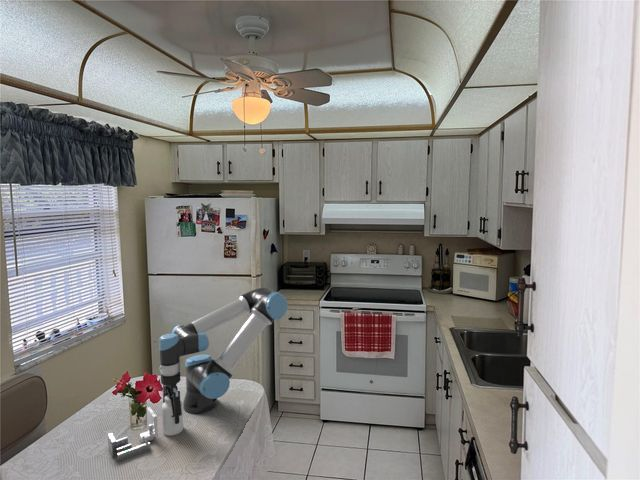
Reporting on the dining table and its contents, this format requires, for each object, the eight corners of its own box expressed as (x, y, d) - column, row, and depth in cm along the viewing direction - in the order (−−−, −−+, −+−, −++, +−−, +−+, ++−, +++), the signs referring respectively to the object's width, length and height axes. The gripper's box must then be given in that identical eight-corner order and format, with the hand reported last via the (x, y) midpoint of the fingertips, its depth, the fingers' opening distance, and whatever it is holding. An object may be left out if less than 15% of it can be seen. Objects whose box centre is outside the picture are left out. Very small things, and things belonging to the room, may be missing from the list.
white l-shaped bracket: (151, 431, 169) (149, 406, 167) (160, 445, 159) (159, 419, 158) (137, 435, 165) (136, 411, 164) (146, 450, 156) (145, 424, 155)
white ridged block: (142, 436, 166) (142, 422, 165) (150, 449, 157) (149, 434, 157) (108, 448, 158) (107, 433, 157) (115, 462, 150) (114, 447, 149)
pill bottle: (162, 437, 165) (160, 402, 163) (163, 427, 172) (162, 392, 171) (182, 434, 167) (181, 399, 165) (183, 424, 175) (182, 390, 173)
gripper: (153, 366, 173) (155, 418, 175) (169, 384, 156) (172, 440, 159) (171, 362, 177) (173, 412, 180) (189, 378, 161) (191, 433, 164)
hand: (173, 425), depth 169 cm, fingers closed on pill bottle, 8 cm apart
